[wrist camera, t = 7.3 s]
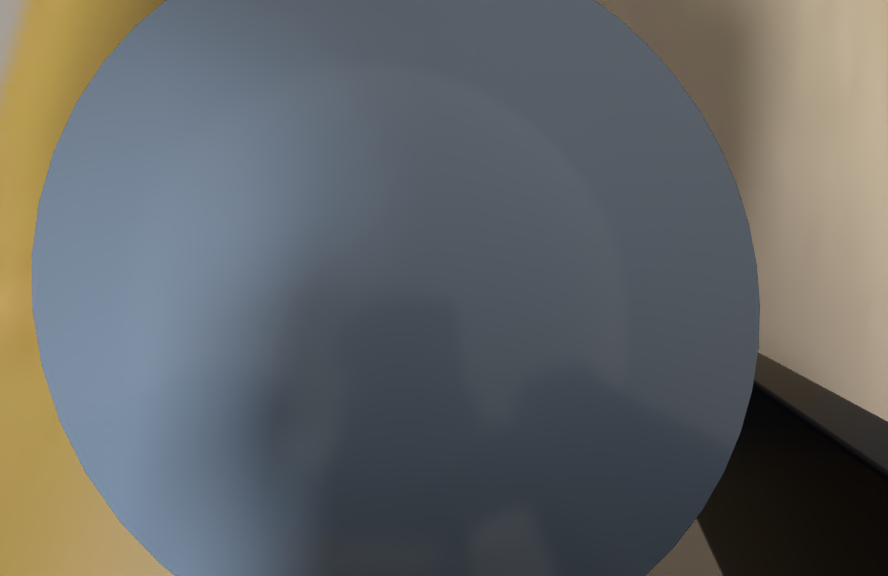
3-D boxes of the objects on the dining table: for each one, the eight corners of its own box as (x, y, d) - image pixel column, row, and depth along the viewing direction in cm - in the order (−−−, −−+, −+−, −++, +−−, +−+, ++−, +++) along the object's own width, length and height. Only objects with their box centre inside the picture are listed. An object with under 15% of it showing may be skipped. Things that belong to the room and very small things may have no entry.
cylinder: (438, 432, 18) (864, 438, 6) (242, 531, 16) (235, 847, 4) (356, 248, 18) (585, -127, 6) (155, 327, 17) (-103, 28, 4)
